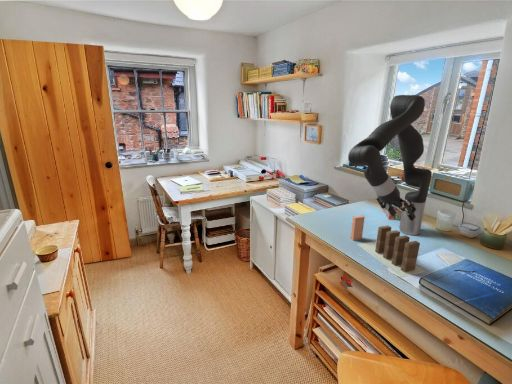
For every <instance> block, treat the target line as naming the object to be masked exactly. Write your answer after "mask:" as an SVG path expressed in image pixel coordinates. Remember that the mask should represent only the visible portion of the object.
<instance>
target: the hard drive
mask: <svg viewBox="0 0 512 384" xmlns="http://www.w3.org/2000/svg"><path fill="white" fill-rule="evenodd" d="M436 255H437V256H438V257H437V256H436ZM435 256H436V257H437V258H438V259H440V260H441V261H442V262H443V261H444V262H445V263H446V264H447V265H446V264H445V263H444V262H443V263H444V264H445V265H446V266H448V265H452V264H455V263H457V262H460V261H462V260H463V259H462V258H461V257H459V255H457V254H455V253H441V252H440V253H435Z"/></svg>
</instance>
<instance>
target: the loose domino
mask: <svg viewBox="0 0 512 384" xmlns="http://www.w3.org/2000/svg"><path fill="white" fill-rule="evenodd" d="M364 226H365V216H364V215H355V216H352V223H351V232H350V240H351V241H359V240H362V239H363V232H364Z"/></svg>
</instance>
